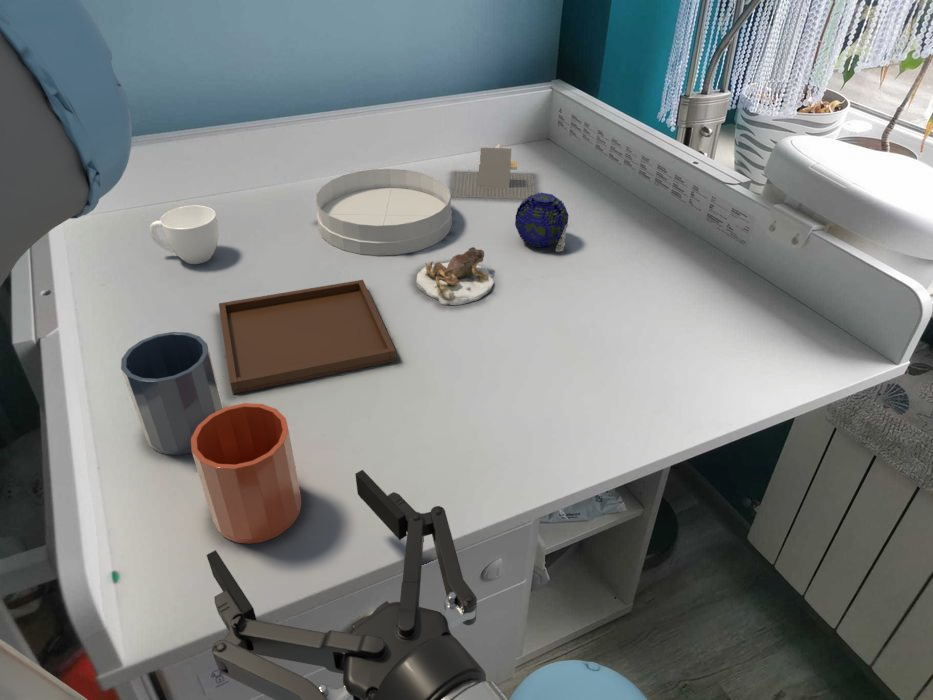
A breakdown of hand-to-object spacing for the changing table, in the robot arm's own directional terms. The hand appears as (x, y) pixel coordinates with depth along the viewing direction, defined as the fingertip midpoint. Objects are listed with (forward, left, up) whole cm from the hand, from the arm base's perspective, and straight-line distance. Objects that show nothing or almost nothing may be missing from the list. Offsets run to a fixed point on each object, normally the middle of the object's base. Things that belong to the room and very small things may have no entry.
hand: (291, 519), depth 59 cm
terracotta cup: (-3, +8, -6) cm, 10 cm away
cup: (-7, +61, -6) cm, 61 cm away
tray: (+6, +35, -6) cm, 36 cm away
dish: (+24, +63, -6) cm, 68 cm away
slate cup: (-9, +22, -6) cm, 24 cm away
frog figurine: (+29, +42, -6) cm, 51 cm away
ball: (+46, +49, -6) cm, 67 cm away
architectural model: (+47, +72, -6) cm, 86 cm away
